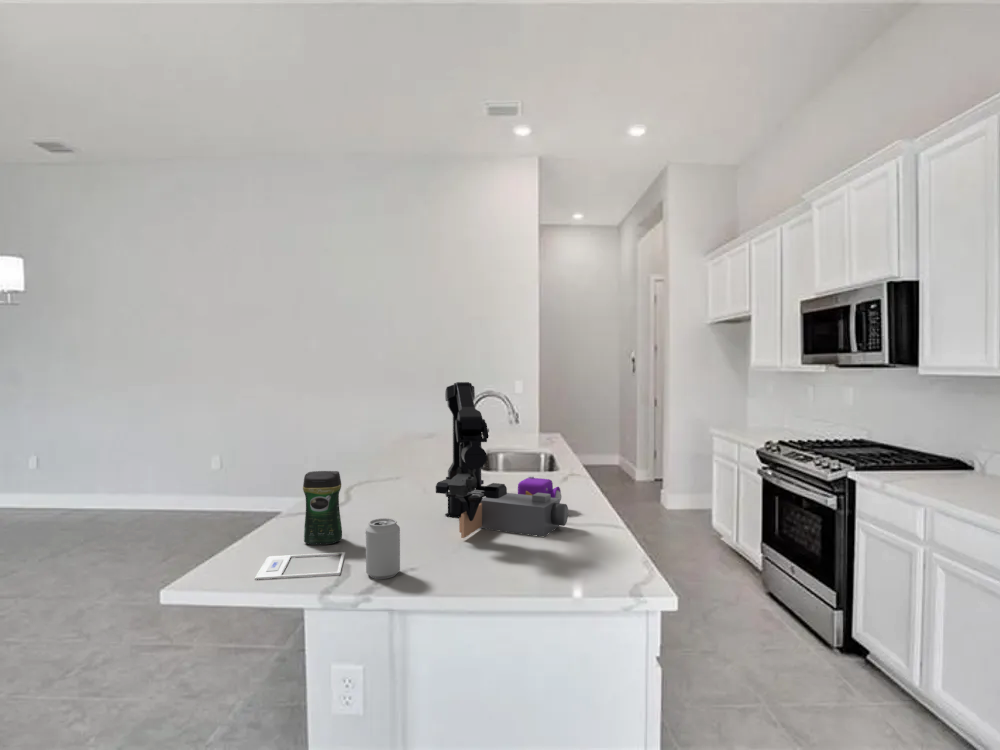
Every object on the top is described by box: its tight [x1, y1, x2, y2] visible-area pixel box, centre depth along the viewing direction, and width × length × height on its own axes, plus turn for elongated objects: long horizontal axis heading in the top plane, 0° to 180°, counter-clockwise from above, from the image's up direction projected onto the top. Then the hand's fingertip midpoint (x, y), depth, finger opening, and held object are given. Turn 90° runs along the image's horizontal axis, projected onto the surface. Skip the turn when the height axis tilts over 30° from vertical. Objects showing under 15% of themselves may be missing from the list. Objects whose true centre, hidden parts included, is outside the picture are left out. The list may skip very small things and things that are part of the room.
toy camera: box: [517, 475, 562, 502], centre depth 194 cm, size 11×14×10 cm
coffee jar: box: [302, 470, 343, 546], centre depth 161 cm, size 10×8×19 cm
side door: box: [458, 503, 482, 539], centre depth 167 cm, size 12×2×6 cm, turn 159°
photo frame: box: [254, 551, 346, 581], centre depth 142 cm, size 15×1×18 cm
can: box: [365, 517, 401, 580], centre depth 137 cm, size 8×8×12 cm
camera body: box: [479, 492, 569, 537], centre depth 174 cm, size 23×12×10 cm, turn 64°
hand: (471, 520), depth 162 cm, fingers closed
